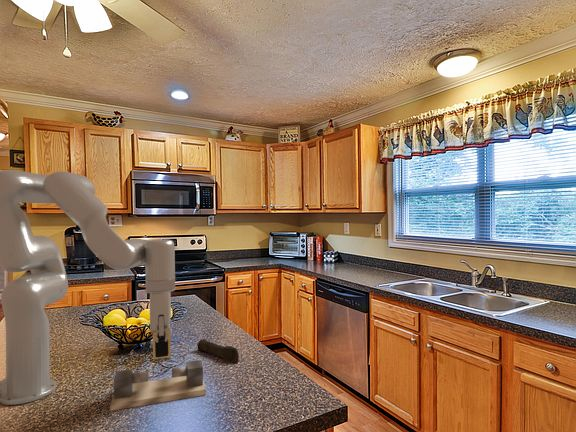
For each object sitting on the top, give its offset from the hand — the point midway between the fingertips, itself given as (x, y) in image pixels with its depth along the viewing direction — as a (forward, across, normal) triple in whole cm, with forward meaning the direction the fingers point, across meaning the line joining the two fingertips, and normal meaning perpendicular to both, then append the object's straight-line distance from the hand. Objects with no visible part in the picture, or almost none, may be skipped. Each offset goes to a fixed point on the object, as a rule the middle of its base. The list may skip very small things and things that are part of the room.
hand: (161, 352), depth 95 cm
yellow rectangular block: (+1, 0, 0) cm, 1 cm away
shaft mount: (+11, 0, -1) cm, 11 cm away
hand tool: (+12, -21, +19) cm, 30 cm away
